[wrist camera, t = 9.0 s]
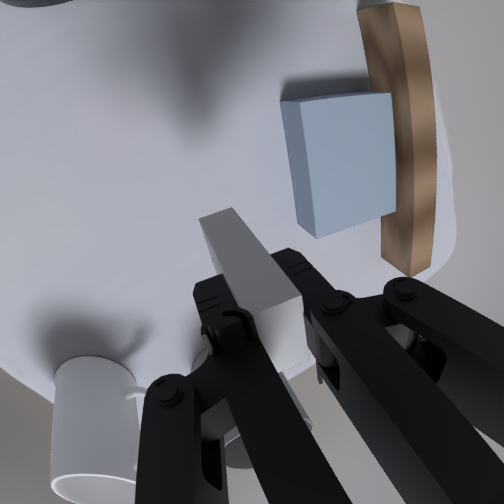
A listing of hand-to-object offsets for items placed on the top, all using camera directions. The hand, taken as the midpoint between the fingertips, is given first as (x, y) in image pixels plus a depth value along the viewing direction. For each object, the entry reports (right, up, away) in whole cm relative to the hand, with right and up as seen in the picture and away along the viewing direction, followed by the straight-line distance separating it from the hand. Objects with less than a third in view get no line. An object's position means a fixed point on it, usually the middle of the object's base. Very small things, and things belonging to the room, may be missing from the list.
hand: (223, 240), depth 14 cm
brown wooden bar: (+14, +10, +12) cm, 20 cm away
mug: (-13, -13, +13) cm, 22 cm away
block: (+8, +7, +11) cm, 15 cm away
